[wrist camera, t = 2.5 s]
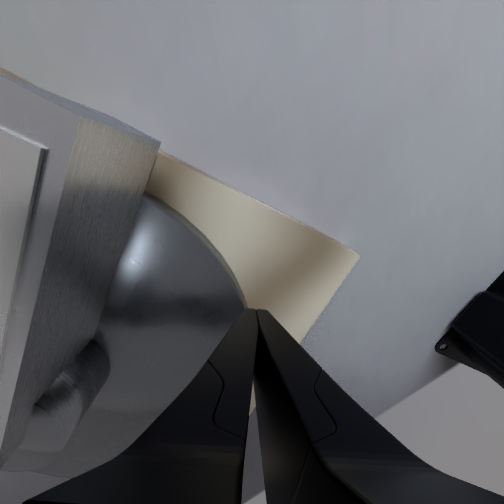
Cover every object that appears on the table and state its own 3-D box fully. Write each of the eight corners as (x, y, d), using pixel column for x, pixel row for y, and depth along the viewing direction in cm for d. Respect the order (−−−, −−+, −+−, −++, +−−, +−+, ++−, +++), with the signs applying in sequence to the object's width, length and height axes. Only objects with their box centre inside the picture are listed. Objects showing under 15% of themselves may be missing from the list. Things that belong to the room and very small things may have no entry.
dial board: (346, 246, 12) (361, 257, 11) (197, 468, 18) (193, 496, 16) (-100, 16, 9) (-174, -17, 7) (-107, 386, 14) (-148, 412, 13)
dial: (180, 481, 16) (151, 628, 11) (-119, 404, 13) (-358, 559, 8) (341, 233, 10) (435, 298, 5) (-121, -8, 7) (-976, -421, 2)
